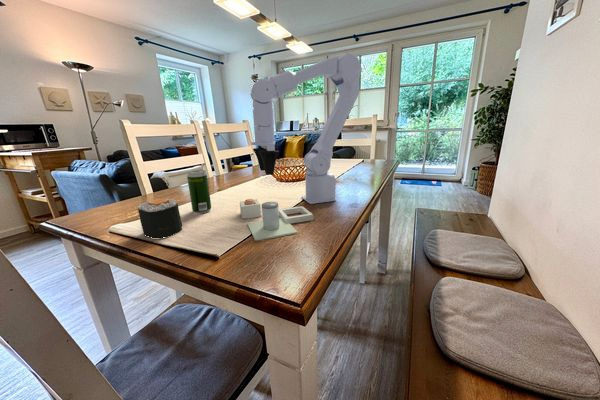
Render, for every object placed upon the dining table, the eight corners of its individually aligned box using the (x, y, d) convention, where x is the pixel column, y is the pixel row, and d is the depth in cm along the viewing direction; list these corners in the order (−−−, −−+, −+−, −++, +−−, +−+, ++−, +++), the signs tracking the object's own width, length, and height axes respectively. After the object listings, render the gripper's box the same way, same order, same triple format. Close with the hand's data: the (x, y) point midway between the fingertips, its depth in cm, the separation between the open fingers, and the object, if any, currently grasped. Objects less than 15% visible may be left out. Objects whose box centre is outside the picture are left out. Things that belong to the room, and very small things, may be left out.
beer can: (214, 211, 74) (209, 171, 70) (196, 215, 71) (189, 174, 67) (208, 206, 78) (202, 169, 74) (190, 210, 75) (184, 171, 71)
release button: (253, 206, 72) (252, 198, 71) (255, 209, 70) (254, 200, 69) (245, 207, 71) (244, 199, 70) (246, 210, 69) (245, 202, 68)
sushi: (167, 222, 66) (162, 194, 64) (188, 228, 62) (183, 198, 60) (136, 234, 59) (129, 203, 57) (158, 241, 56) (151, 208, 53)
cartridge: (276, 223, 63) (275, 200, 62) (281, 228, 60) (280, 205, 58) (261, 225, 62) (259, 203, 60) (265, 231, 58) (263, 208, 57)
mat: (284, 218, 67) (284, 217, 67) (297, 233, 58) (297, 231, 58) (247, 224, 64) (247, 223, 64) (255, 241, 55) (255, 239, 55)
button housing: (257, 210, 74) (256, 199, 73) (261, 216, 69) (260, 204, 68) (240, 212, 72) (239, 201, 71) (243, 218, 68) (242, 206, 67)
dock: (302, 210, 73) (302, 206, 72) (313, 219, 66) (313, 214, 66) (277, 214, 70) (277, 209, 70) (286, 224, 64) (285, 218, 63)
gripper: (246, 126, 77) (249, 169, 81) (255, 127, 64) (258, 178, 68) (268, 125, 80) (270, 167, 84) (281, 126, 67) (283, 175, 71)
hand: (266, 172), depth 76 cm, fingers open, 7 cm apart
